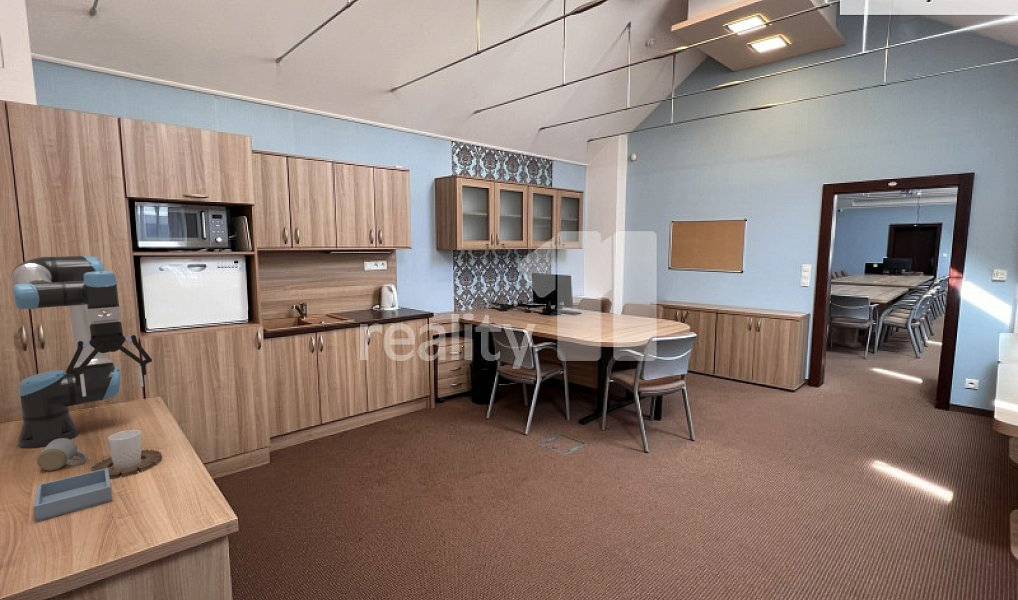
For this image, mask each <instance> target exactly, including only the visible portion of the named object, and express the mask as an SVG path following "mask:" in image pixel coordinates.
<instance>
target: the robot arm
mask: <svg viewBox="0 0 1018 600" xmlns="http://www.w3.org/2000/svg"><path fill="white" fill-rule="evenodd" d="M11 280H12V283H13V284H14V285H13V287H12V289H13V290H12V291H13V299H14V305H15V308H16V309H19V310H27V309H28V310H36V309H44V308H46V309H47V308H56V307H68V311H69V316H70V317H69V318H70V324H71V329H72V332H71V333H72V337H73V339H72V340H73V344H74V355H73V356H72V358H71V361H70V363H69V364H68V366H67V369H66V370H65V371H64V370H62V369H61V370H60V369H57V370H50V371H44V372H41V373H37V374H34V375H31V376H27V377H25V378H23V379H22V380H21V381H20V382H19V384H18V385H19V386H18V389H19V393H18V396H19V397H20V405H21V414H22V425H21V428H20V432H19V435H18V437H17V443H18V446H19V447H20V448H24V449H25V448H26V449H28V448H29V449H34V448H40V447H46V446H47V445H48V444H49V443H50V442H51V441H53V440H55V439H59V438H66V439H70V440H72V439H73V438H74V437H77V435H78V434H79V429H78V426H77V424H76V422H75V421H74V419H73V417H72V416H71V414H70V410H69V407H72V406H78V405H83V404H89V403H93V402H100V401H104V400H108V399H114V398H115V397H116V396H118V394H119V392H120V388H121V387H120V386H121V370H120V369H121V368H120V367H119V366H117V365H114V361H113V360H111V359H109V358H108V354H107V353H116V352H118V351H121V352H122V353H124V354H125V355H126V356H128V357H129V358H130V359H132V360H134V361H135V362H137V363H138V364H139V365H137V374H138V380H139V381H138V383H139V387H140V388H141V387H142V388H143V387H144V378H143V376H146V375H147V364H149V363H152V362H153V359H152V358H151V356H150V355H149V353H147V352H146V350H145V349H144V348H143V347H142V345H141V344H140V343H139V341H138V339H137V336H136V335H135V334H132V335H128V336H124V333H123V325H122V324H123V323H122V321H120V320H121V319H122V315H121V307H120V303H119V302H120V301H119V292H118V281H117V278H116V273H115V272H114V271H109V270H108V271H107V270H105V267H104V265H103V262H102V261H101V259H100V258H98V257H96V256H93V255H92V256H88V255H73V256H67V255H66V256H41V257H40V256H39V257H35V258H31V259H28V260H25V261H23V262H21V263H20V264H17V266H15V267H14V268H13V270H12V272H11ZM126 341H128V343H131V344H133V346H134V347H135V348H136V349H137V350H138V352H139V353H140V354H141V355H142V357H143V358H144V360H142V359H141V358H140V357H139V356H137V355H136V354H134V353H133V352H131V351H130V350H129V349H127V348H126V347H124V346H123V345H124V344H125V342H126Z"/></svg>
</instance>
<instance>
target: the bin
mask: <svg viewBox="0 0 1018 600" xmlns="http://www.w3.org/2000/svg"><path fill="white" fill-rule="evenodd" d="M110 480H111V479H109V471H108V468H105V469H101V470H97V471H92V472H91V471H89V472H84V473H81V474H77V475H72V476H68V477H64V478H60V479H56V480H52V481H47V482H43V483H40V484H37V486H36V491H35V497H34V503H33V512H34V518H35V519H34V520H35V523H38V522H41V520H42V521H44V520H49V519H53V518H55V517H59V515H60V516H62V515H66V514H70V513H74V512H76V511H81V510H84V509H83V508H85V509H88V508H87V507H89V508H91V506H92V507H96V506H98V505H103V504H106V503H110V502H113V497H112V487H111V481H110ZM95 505H96V506H95ZM37 521H38V522H37Z"/></svg>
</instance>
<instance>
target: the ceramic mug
mask: <svg viewBox="0 0 1018 600" xmlns="http://www.w3.org/2000/svg"><path fill="white" fill-rule="evenodd" d="M74 457H76V458H77V457H78V458H81V459H80V460H79V459H78V460H76V459H73V458H74ZM87 458H88V456H87V455H86V453H83V452H81V451H78V445H77V443H76V442H75V441H73V440H72V439H66V438H59V439H55V440H53V441H51V442H50V443H49V444H48V445H47V446H44V448H43V449H42V450H41V452H40V453H39V454H38V455H37V459H36V463H37V466H38V467H39V468H40V469H42V470H44V471H50V472H51V471H56V470H59V469H61V468H63V467H64V466H65V465H70V466H71V465H72V466H77V465H78V466H80V465H83V464H84V463H85V462H86V460H87Z"/></svg>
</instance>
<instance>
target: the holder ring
mask: <svg viewBox="0 0 1018 600" xmlns="http://www.w3.org/2000/svg"><path fill="white" fill-rule="evenodd" d="M141 460H143V461H141V463H139V464H137V465H135V466H131V467H127V468H122V469H114V468H111V467H112V466H113V461H112V458H111V456H110V457H107V458H105V459H102V460H101V461H98V462H97V463H96V464H94V465H93V466H92V467H91V468H90V472H92V471H97V470H101V469H105V468H108V471H109V479H110V480H111V479H119V478H120V477H121V478H126V477H128V475H129V476H132V474H133V475H136V473H137V474H138V471H139V473H142V471H143V472H144V471H147V470H149V468H150V469H152V468H154V466H155V465H156V466H157V465H158V464H159V463H160V462H161V461H162V460H163V456H162V453H161V451H160V450H154V449H150V450H149V449H141ZM125 476H126V477H125Z"/></svg>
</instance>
